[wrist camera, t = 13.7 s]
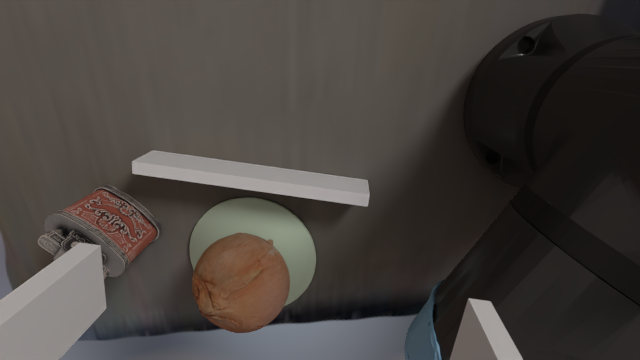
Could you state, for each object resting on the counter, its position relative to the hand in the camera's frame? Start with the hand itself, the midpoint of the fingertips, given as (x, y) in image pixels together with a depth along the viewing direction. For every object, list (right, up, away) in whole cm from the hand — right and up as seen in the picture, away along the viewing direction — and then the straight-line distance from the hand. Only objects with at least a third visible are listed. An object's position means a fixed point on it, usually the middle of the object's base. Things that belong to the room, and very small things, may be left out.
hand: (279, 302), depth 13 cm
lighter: (-19, +1, +28) cm, 34 cm away
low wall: (-5, +5, +25) cm, 26 cm away
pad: (-6, -4, +28) cm, 29 cm away
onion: (-6, -4, +28) cm, 29 cm away
